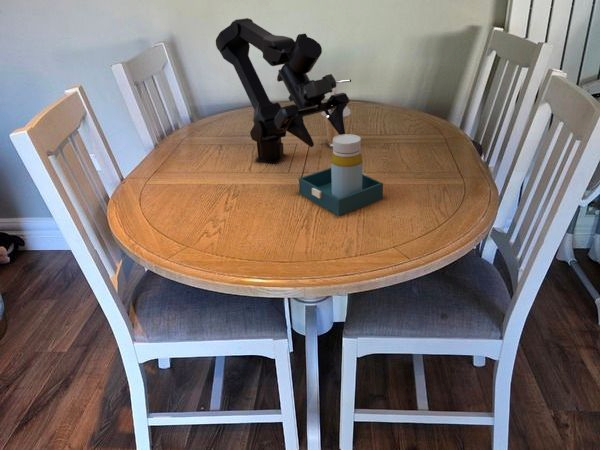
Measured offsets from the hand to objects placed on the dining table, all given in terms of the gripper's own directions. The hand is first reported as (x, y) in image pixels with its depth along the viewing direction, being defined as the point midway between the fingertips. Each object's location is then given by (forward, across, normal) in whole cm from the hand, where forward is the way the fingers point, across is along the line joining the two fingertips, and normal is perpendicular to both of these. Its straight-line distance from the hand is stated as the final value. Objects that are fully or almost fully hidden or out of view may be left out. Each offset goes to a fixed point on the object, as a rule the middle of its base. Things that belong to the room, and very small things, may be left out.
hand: (328, 141), depth 112 cm
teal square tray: (+12, 0, +6) cm, 13 cm away
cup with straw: (-7, +21, +25) cm, 33 cm away
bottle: (+14, 0, +4) cm, 14 cm away
